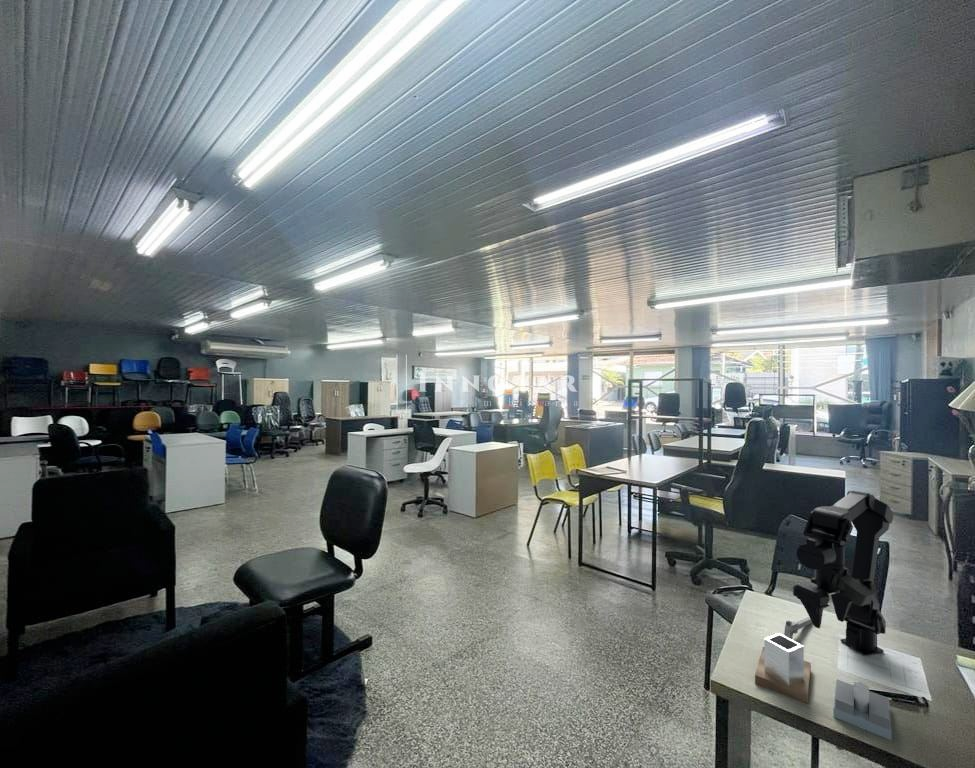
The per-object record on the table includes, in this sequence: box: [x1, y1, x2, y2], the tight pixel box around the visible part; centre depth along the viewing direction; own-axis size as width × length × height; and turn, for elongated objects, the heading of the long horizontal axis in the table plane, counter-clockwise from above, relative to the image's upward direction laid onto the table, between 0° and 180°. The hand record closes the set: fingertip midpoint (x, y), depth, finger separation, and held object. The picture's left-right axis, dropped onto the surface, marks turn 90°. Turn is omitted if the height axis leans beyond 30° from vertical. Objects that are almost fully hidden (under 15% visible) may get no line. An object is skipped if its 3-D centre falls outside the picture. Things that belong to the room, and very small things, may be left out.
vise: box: [832, 679, 893, 741], centre depth 91 cm, size 11×9×7 cm
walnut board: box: [754, 646, 812, 704], centre depth 102 cm, size 14×10×2 cm
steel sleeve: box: [763, 632, 805, 687], centre depth 100 cm, size 6×6×8 cm
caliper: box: [783, 616, 813, 640], centre depth 120 cm, size 20×1×6 cm, turn 127°
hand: (829, 624), depth 103 cm, fingers open, 9 cm apart
